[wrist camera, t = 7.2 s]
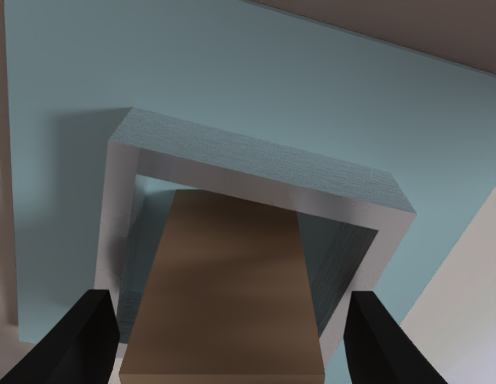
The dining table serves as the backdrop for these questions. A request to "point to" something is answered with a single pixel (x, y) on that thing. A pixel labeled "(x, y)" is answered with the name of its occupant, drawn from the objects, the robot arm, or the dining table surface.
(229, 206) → the peg
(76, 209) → the board
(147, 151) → the socket
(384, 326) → the robot arm
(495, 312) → the dining table surface
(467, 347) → the dining table surface
